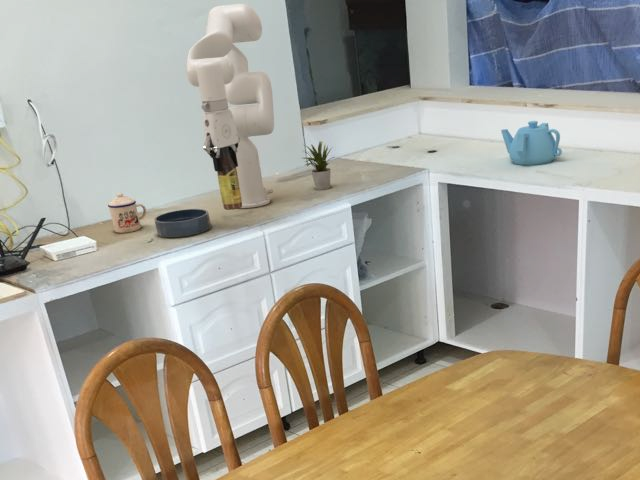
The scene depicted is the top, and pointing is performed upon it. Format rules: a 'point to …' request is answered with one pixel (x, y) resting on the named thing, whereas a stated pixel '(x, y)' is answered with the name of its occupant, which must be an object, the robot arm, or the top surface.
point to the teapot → (532, 144)
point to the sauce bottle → (229, 181)
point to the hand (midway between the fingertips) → (226, 168)
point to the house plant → (319, 167)
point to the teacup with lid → (125, 214)
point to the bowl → (182, 223)
